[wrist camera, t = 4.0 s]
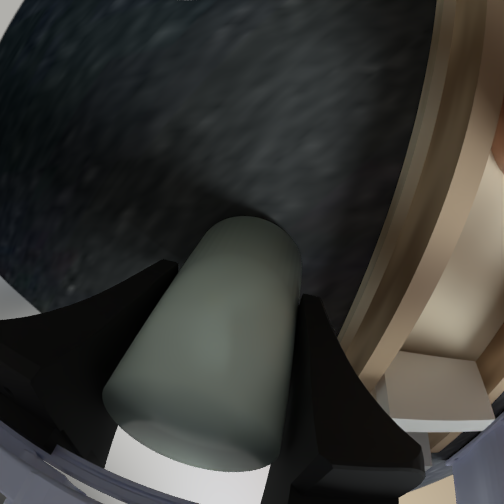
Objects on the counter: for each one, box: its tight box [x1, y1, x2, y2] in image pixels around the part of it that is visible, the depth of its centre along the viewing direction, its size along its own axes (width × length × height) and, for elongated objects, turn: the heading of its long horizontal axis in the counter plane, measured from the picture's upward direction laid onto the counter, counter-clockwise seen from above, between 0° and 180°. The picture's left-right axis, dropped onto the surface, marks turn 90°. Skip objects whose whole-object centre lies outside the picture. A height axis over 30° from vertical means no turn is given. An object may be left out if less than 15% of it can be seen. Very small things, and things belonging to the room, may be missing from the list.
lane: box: [337, 0, 504, 453], centre depth 10 cm, size 22×10×4 cm, turn 171°
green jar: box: [102, 216, 302, 472], centre depth 10 cm, size 4×4×8 cm
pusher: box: [375, 351, 495, 471], centre depth 13 cm, size 6×6×4 cm
